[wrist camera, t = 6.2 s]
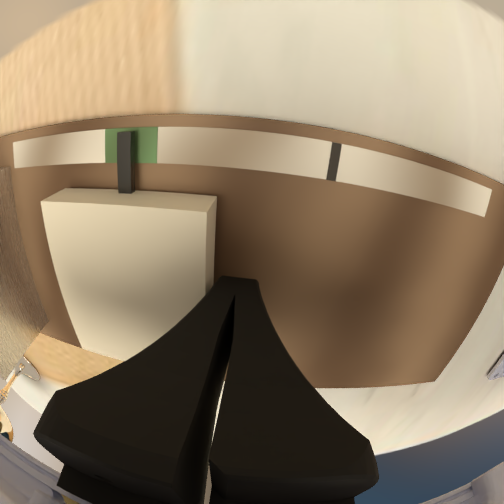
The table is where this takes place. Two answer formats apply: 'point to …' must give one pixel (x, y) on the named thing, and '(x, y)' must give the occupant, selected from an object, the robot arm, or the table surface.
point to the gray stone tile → (15, 285)
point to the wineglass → (3, 425)
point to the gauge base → (297, 231)
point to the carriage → (129, 258)
